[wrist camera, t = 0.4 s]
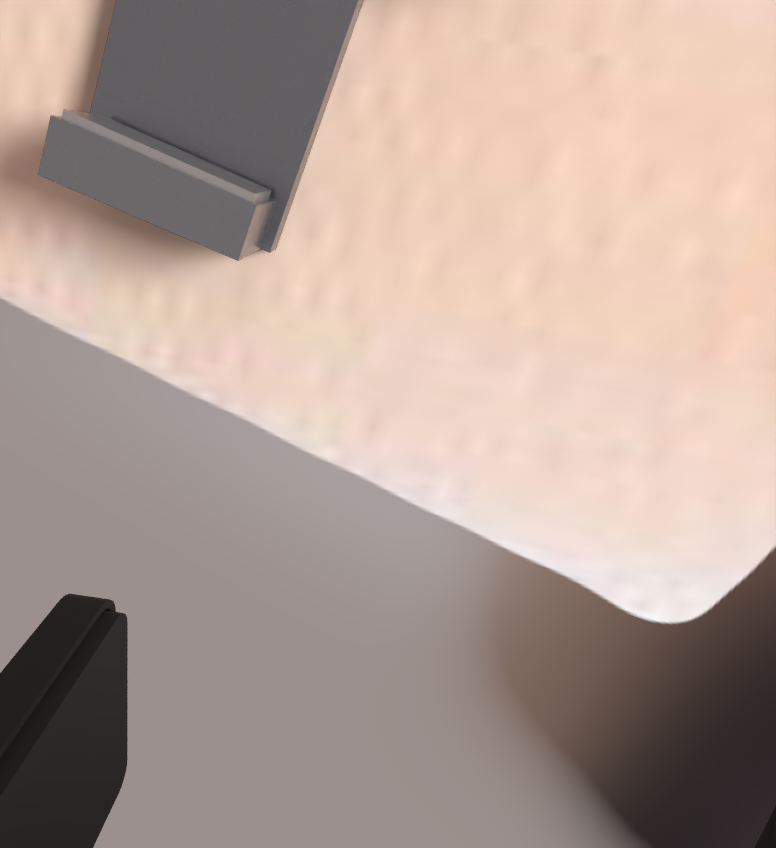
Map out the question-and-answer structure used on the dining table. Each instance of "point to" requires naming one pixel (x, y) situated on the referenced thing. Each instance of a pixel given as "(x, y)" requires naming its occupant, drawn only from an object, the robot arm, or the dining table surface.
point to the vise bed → (205, 115)
